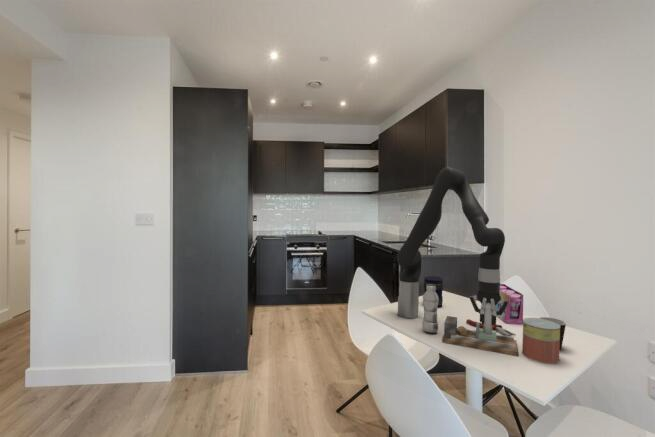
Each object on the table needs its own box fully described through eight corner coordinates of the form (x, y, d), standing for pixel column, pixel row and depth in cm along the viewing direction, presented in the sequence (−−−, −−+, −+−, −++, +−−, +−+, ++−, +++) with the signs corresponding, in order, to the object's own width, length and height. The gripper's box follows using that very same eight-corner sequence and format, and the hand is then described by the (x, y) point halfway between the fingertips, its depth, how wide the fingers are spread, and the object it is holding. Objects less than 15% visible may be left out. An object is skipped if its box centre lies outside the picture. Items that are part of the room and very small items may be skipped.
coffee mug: (566, 353, 120) (566, 326, 119) (538, 348, 124) (538, 322, 124) (563, 342, 129) (564, 317, 129) (537, 337, 134) (538, 313, 134)
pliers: (503, 340, 132) (503, 334, 132) (464, 324, 151) (465, 318, 150) (522, 336, 136) (523, 330, 136) (483, 321, 155) (483, 315, 155)
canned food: (528, 346, 125) (529, 315, 125) (563, 357, 117) (564, 323, 116) (517, 355, 118) (518, 322, 117) (554, 366, 109) (555, 331, 109)
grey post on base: (475, 341, 125) (476, 301, 125) (476, 335, 132) (477, 297, 131) (496, 344, 122) (497, 304, 122) (496, 338, 128) (497, 300, 128)
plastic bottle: (430, 336, 135) (431, 287, 134) (418, 330, 141) (419, 284, 140) (441, 333, 138) (442, 286, 137) (429, 328, 144) (430, 282, 143)
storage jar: (420, 303, 182) (421, 276, 181) (437, 302, 183) (438, 276, 182) (428, 308, 172) (428, 280, 171) (445, 308, 173) (446, 280, 172)
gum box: (525, 325, 148) (525, 296, 148) (506, 324, 149) (507, 295, 149) (503, 309, 172) (504, 283, 171) (487, 308, 173) (488, 283, 173)
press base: (442, 342, 128) (442, 323, 128) (445, 332, 139) (446, 314, 139) (518, 356, 117) (519, 335, 117) (516, 344, 128) (516, 325, 127)
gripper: (468, 279, 126) (467, 324, 126) (510, 283, 119) (509, 330, 120) (469, 276, 132) (468, 318, 133) (509, 279, 126) (508, 324, 127)
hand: (487, 323), depth 126 cm, fingers closed on grey post on base, 3 cm apart
